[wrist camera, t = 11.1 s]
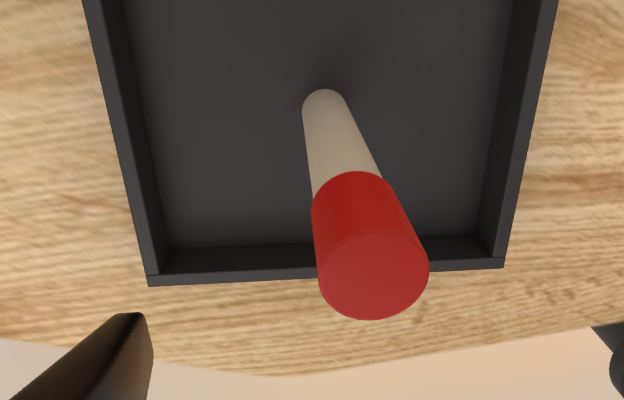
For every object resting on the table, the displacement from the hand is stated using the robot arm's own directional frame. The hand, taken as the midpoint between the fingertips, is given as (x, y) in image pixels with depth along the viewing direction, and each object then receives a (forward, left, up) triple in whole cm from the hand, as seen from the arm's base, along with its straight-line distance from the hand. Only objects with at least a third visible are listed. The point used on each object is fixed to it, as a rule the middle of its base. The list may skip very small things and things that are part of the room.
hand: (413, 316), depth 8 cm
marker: (0, +1, -12) cm, 12 cm away
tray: (0, +1, -12) cm, 12 cm away
